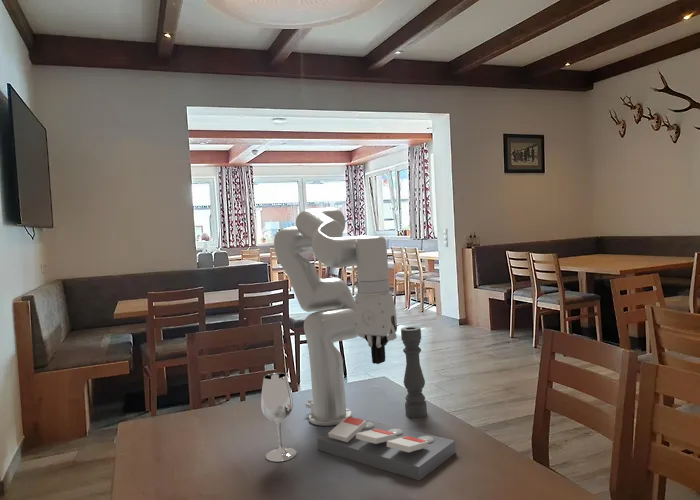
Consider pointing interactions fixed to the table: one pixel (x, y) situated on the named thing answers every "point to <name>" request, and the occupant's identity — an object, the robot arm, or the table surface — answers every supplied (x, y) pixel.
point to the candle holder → (413, 373)
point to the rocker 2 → (376, 436)
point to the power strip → (392, 451)
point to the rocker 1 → (347, 429)
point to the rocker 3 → (407, 444)
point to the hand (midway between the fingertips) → (378, 362)
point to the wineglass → (277, 410)
